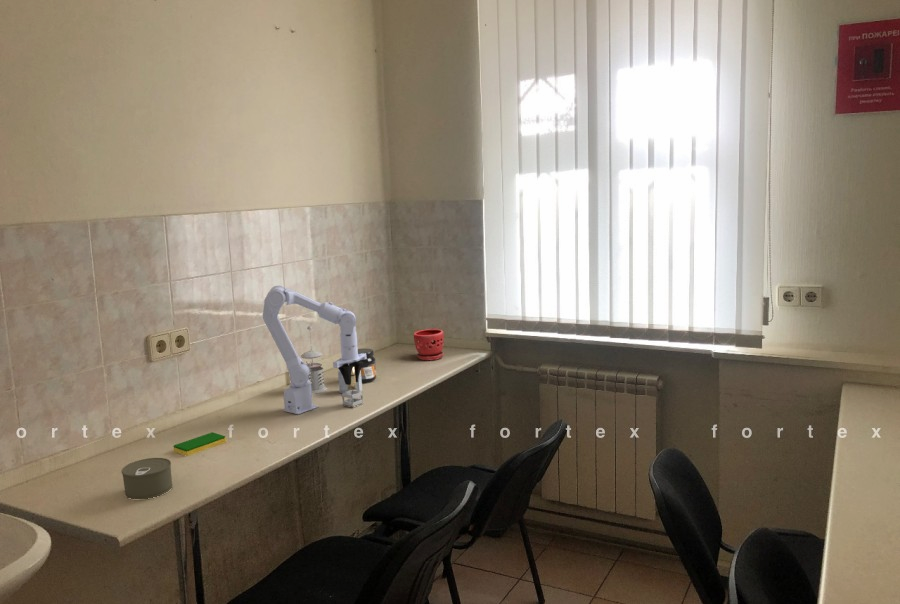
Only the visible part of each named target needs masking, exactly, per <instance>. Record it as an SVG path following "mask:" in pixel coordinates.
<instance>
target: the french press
mask: <svg viewBox="0 0 900 604" xmlns="http://www.w3.org/2000/svg"><path fill="white" fill-rule="evenodd" d="M306 329H307V330H313V326H311V325H309V326H307V327H306ZM311 334H312V333H309V339H310V343H312V337H311ZM322 355H323V353H322V352H320V351H318V350H312V347H310V350H307V351H305V352H304V353H302V354H301V355H300V358H301V359H306V361H305V364H306V365H307V366H308V367H309V370H310V373H309V376H308V379H309V381H311V390H312V394H319V392H320V393H323V392H326V391H327V390H328V388H327V387H326V386H325V377H324V376H325V375H324V367H322V365H323V363H320V362H313V359H316V358H317V359H318V358H320V357H322ZM307 359H308V360H311V361H310V363H308V361H307ZM325 390H326V391H325Z"/></svg>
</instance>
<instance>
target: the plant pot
mask: <svg viewBox="0 0 900 604" xmlns="http://www.w3.org/2000/svg"><path fill="white" fill-rule="evenodd" d="M444 338H445V336H444V331H443V330H442V329H439V328H429V329H422V330H421V329H420V330H417V331H415V332H414V333H413V341H414V345H415V349H416V351H417V352H418V353H417V357H418V358H419V360H422V361H429V360H430V361H433V360H434V361H435V360H438V359H439V360H440V359H441V358H443V356H444V355H445V353H444V351H443V349H444V343H445V342H444V341H445V340H444Z"/></svg>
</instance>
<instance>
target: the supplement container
mask: <svg viewBox="0 0 900 604" xmlns="http://www.w3.org/2000/svg"><path fill="white" fill-rule="evenodd" d="M361 353H365V354H366V358H367V359H363V360H360V361H362V362H363V366H362V368H361V380H362V384H368V383H371V382H374V381H376V379H377V367H376V357H375V356H374V355H375V351H374V349H372V348H369V347H368V348H365V347H364V348H358V354H361ZM367 382H368V383H367Z"/></svg>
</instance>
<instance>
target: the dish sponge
mask: <svg viewBox="0 0 900 604" xmlns="http://www.w3.org/2000/svg"><path fill="white" fill-rule="evenodd" d="M224 443H227V439H226V435H223V434H220V433H216V432H213V431H211V432H208V433H206V434H202V435H201V436H197V437H193V438H191V439H188V440H185V441H183V442H182V441H181V442H179V443H176V444H173V452H174V451H175V452H174V453H176V452H178V453H177V454H179V453H180V454H179V455H182V454H183V456H185V455H186V456H185V457H188V455H189V456H191V454H192V455H195V454H197V453H200V452H202V450H203V451H205V449H206V450H209V449H211V448H214V447H216V446H220V445H222V444H224ZM208 448H209V449H208ZM199 451H200V452H199ZM194 453H195V454H194Z"/></svg>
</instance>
